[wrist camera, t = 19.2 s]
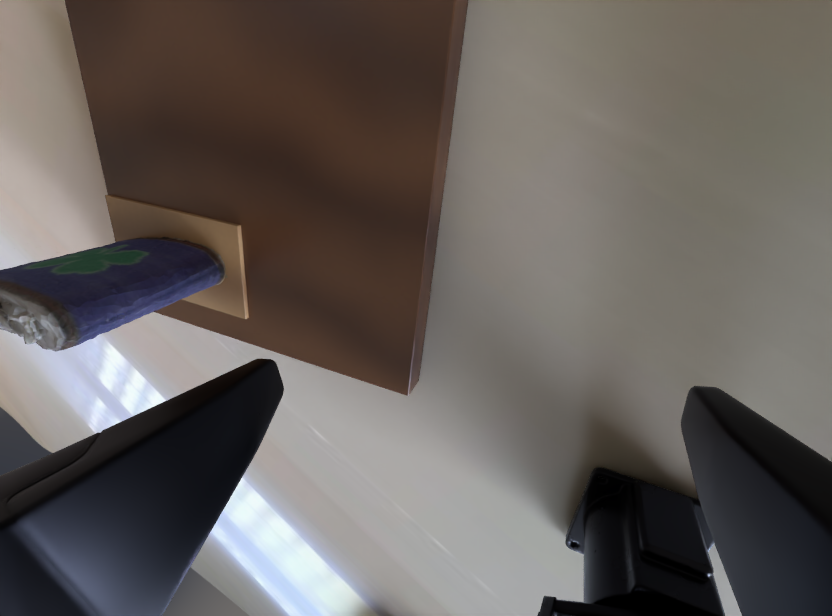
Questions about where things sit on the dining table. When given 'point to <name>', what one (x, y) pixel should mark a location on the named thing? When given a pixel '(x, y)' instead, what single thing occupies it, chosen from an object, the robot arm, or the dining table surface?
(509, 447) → the dining table surface
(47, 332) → the flask
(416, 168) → the serving board
